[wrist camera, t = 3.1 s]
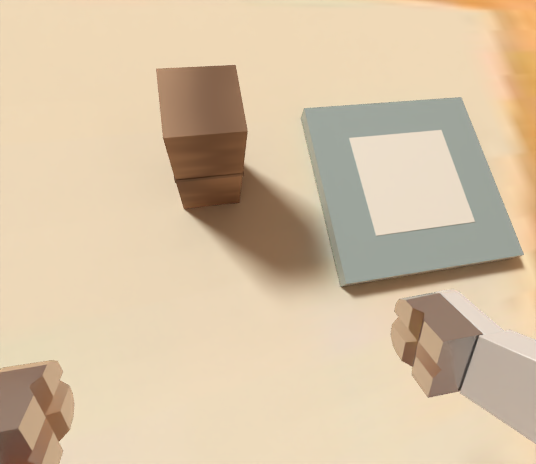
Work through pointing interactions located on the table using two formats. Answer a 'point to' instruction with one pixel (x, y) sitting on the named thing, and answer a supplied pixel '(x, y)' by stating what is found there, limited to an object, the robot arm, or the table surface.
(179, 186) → the walnut block
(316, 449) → the table surface
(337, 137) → the plate
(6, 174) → the table surface
